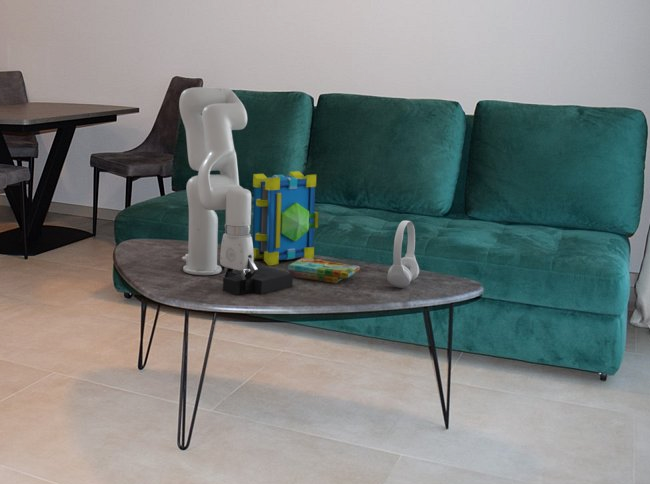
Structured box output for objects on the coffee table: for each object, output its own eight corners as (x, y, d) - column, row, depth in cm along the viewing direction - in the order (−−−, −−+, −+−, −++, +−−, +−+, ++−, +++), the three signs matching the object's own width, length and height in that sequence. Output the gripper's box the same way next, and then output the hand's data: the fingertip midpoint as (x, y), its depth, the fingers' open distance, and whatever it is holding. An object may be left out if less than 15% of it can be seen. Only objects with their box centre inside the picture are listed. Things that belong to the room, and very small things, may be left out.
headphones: (383, 289, 249) (386, 224, 247) (398, 276, 265) (401, 215, 263) (407, 293, 245) (409, 227, 244) (421, 279, 261) (423, 217, 260)
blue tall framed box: (320, 260, 286) (322, 175, 283) (267, 267, 274) (270, 178, 271) (294, 251, 298) (296, 170, 295) (242, 258, 286) (244, 173, 283)
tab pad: (237, 295, 240) (237, 281, 240) (222, 290, 244) (223, 277, 244) (265, 288, 248) (265, 275, 248) (250, 284, 252) (251, 271, 252)
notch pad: (227, 284, 252) (228, 271, 251) (259, 277, 261) (259, 264, 261) (261, 294, 241) (261, 280, 241) (292, 286, 251) (293, 273, 250)
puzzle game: (301, 255, 271) (359, 263, 262) (300, 269, 272) (359, 278, 262) (287, 262, 261) (348, 271, 252) (287, 277, 262) (347, 286, 252)
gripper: (208, 227, 247) (207, 286, 248) (250, 236, 234) (249, 298, 235) (226, 224, 252) (225, 282, 253) (268, 233, 239) (266, 294, 240)
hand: (236, 289), depth 244 cm, fingers closed on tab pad, 6 cm apart
